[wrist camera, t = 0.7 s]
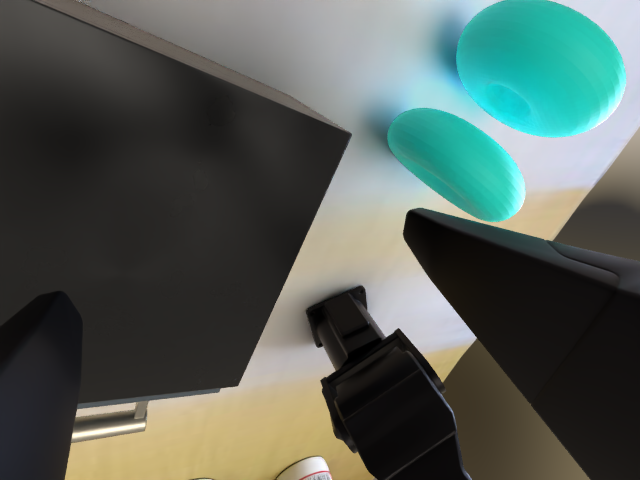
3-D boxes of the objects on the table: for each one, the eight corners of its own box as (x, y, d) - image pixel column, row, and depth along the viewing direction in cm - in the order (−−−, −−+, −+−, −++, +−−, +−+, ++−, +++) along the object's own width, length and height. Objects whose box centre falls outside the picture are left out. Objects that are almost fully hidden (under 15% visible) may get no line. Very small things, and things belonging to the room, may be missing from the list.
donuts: (355, 123, 22) (456, 178, 15) (455, -12, 20) (635, -27, 12) (424, 188, 28) (519, 250, 21) (506, 91, 26) (646, 122, 18)
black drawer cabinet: (218, 296, 26) (238, 386, 19) (-32, 284, 18) (-133, 427, 12) (289, 95, 19) (352, 133, 13) (-52, -57, 12) (-300, -141, 5)
